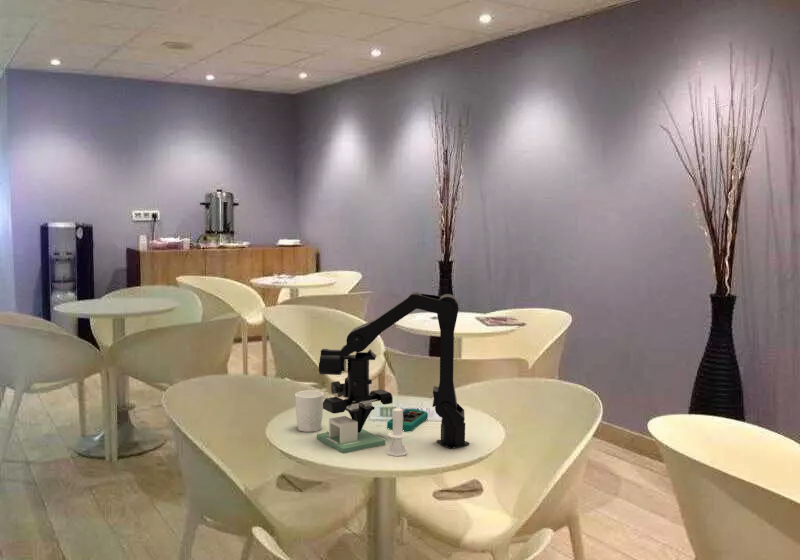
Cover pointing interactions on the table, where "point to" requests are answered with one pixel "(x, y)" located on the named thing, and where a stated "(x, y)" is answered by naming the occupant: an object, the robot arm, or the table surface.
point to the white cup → (309, 410)
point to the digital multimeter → (410, 419)
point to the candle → (397, 434)
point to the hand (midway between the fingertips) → (358, 432)
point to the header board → (363, 441)
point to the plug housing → (343, 429)
